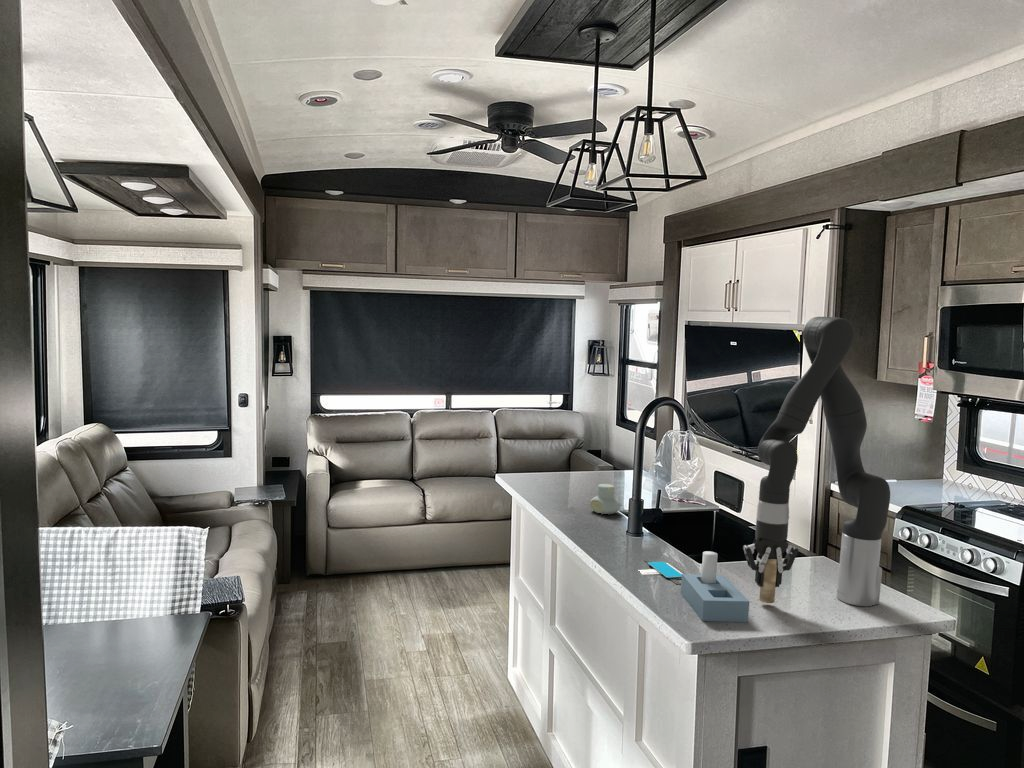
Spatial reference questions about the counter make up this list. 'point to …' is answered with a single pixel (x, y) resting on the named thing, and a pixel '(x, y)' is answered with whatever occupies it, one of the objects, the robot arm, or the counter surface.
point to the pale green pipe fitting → (605, 500)
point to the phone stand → (663, 570)
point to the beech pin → (769, 582)
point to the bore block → (714, 594)
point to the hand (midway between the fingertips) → (767, 585)
